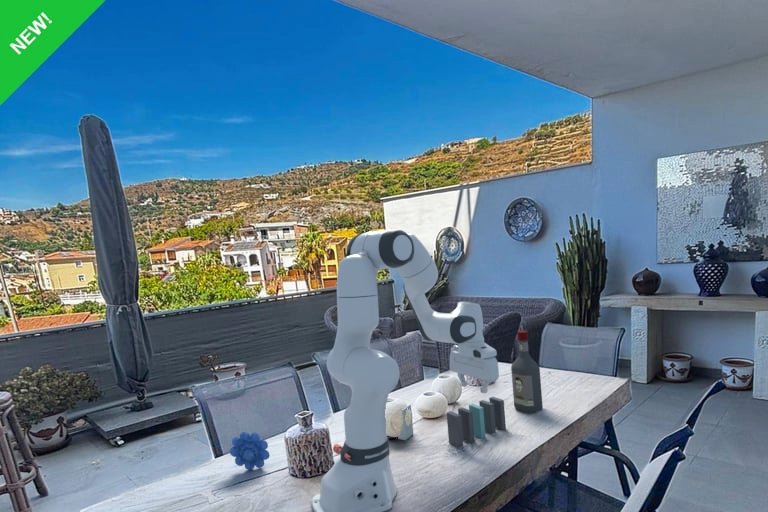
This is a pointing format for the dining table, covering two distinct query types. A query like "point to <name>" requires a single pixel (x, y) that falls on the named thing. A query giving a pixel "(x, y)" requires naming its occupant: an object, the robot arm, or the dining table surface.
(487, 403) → the domino
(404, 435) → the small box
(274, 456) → the dining table surface
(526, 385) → the liquor
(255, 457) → the blue flower
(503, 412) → the domino
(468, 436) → the domino
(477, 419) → the domino
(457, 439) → the domino
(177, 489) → the dining table surface
